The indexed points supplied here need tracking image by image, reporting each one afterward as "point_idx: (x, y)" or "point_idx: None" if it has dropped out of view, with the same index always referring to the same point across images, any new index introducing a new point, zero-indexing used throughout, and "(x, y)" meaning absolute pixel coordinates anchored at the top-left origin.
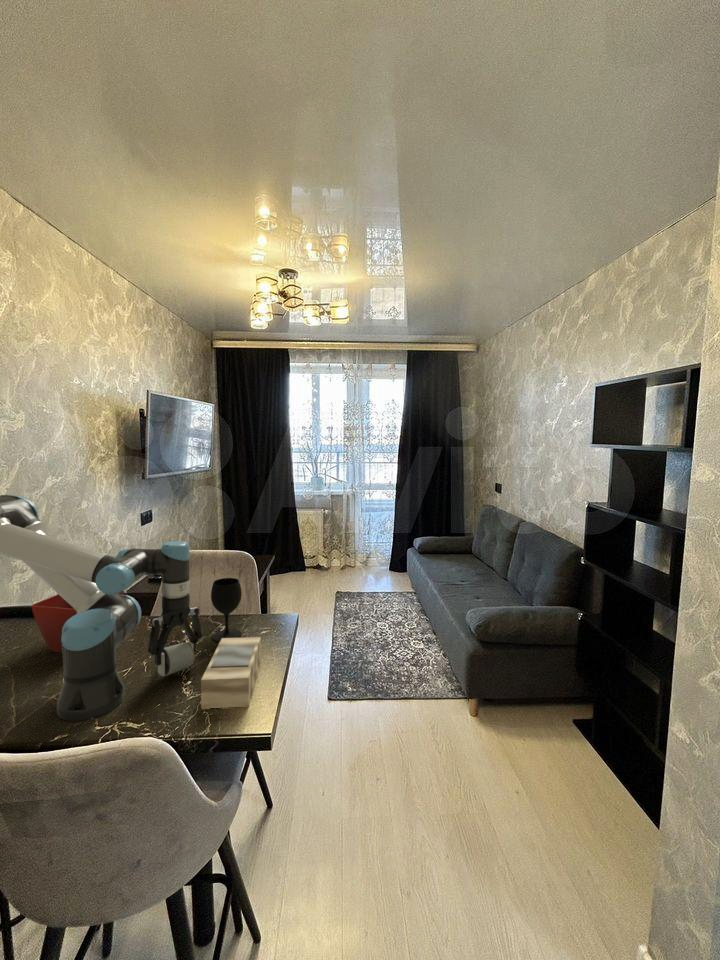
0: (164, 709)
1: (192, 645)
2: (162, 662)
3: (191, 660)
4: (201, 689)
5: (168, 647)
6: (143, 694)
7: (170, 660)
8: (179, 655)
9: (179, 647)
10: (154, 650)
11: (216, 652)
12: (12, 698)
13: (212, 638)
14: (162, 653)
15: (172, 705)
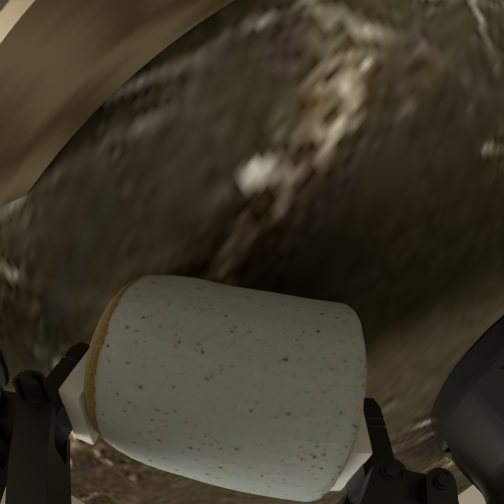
0: (496, 93)
1: (73, 382)
2: None
3: (156, 279)
4: None
5: (283, 492)
6: (452, 293)
7: (363, 363)
8: (254, 366)
9: (198, 444)
10: (441, 498)
11: (8, 15)
12: None
13: (4, 376)
14: (353, 463)
15: (464, 77)
